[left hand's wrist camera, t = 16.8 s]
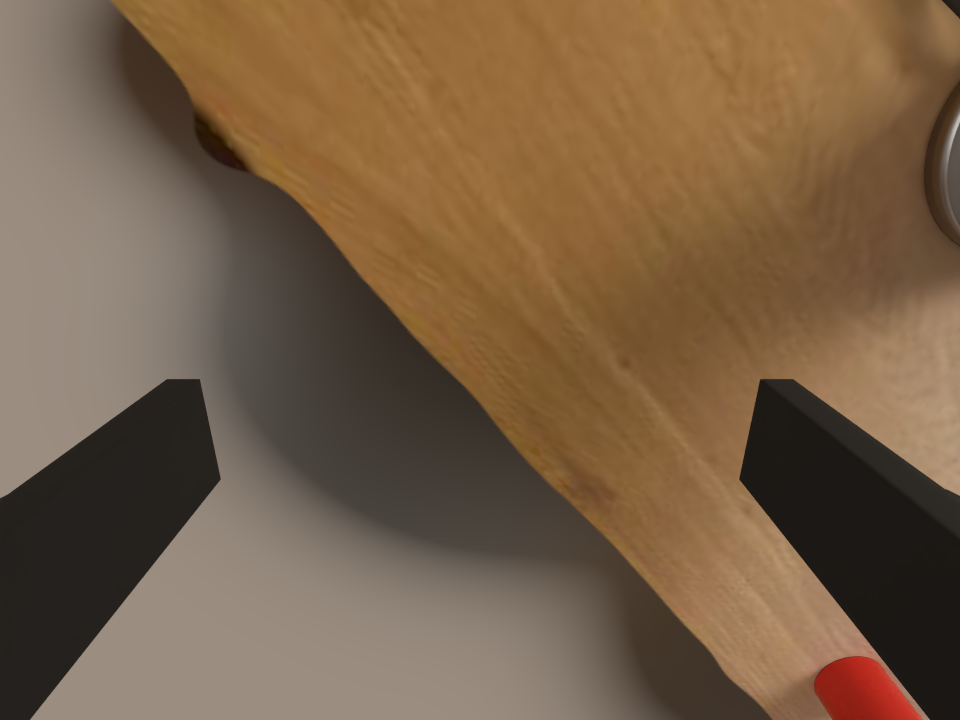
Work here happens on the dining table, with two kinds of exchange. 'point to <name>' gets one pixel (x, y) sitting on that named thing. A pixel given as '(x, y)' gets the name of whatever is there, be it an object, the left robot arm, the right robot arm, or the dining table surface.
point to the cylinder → (861, 692)
